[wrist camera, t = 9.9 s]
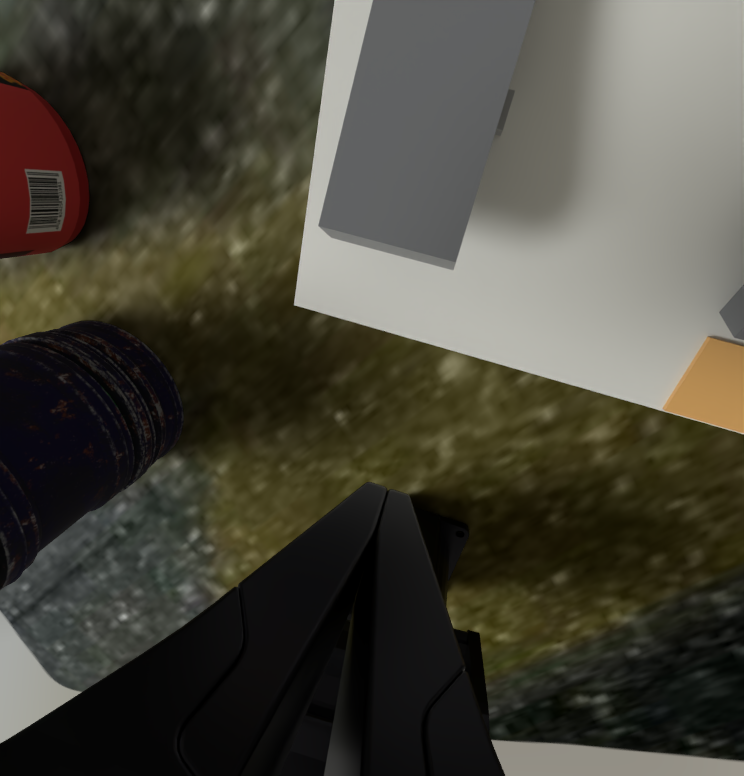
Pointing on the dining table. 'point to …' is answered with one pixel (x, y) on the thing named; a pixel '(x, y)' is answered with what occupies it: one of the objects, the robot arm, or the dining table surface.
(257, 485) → the dining table surface
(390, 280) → the switch base
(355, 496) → the robot arm
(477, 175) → the rocker
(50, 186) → the canned food
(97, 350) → the storage jar
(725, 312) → the block
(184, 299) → the dining table surface
